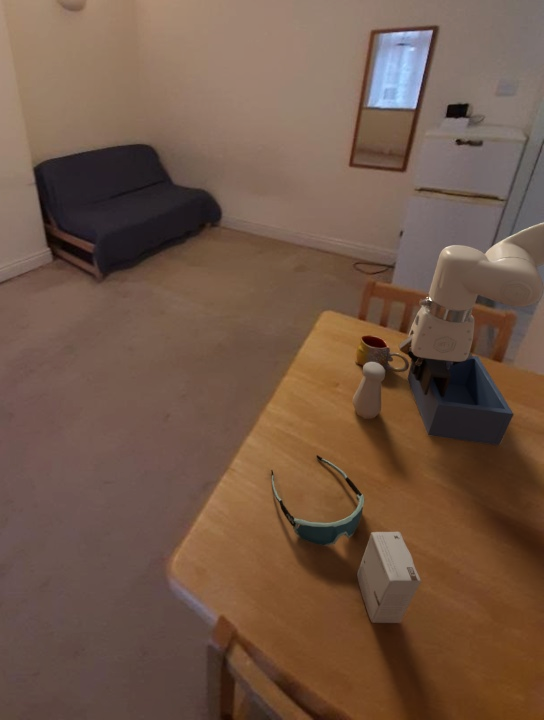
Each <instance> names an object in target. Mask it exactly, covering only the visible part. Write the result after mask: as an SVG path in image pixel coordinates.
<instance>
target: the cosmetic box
mask: <svg viewBox="0 0 544 720" xmlns="http://www.w3.org/2000/svg"><path fill="white" fill-rule="evenodd" d="M359 564H360V565H359V567H358V570H357V574H356V578H357V582H358V586H359V589H360V592H361V596H362V599H363V602H364V606H365V608H366V612H367V616H368V618H369V621H370V622H371V623H373V624H375V623H376V624H401V622H402V620H403V618H404V617H405V614H406V612H407V610H408V609H409V606H410V604H411V602H412V600H413V599H414V597H415V594H416V592H417V591H418V588H419V587H420V585H421V583H422V579H421V577H420V575H419V573H418V571H417V568H416V566H415V563H414V559H413V557H412V554H411V552H410V550H409V548H408V546H407V544H406V542H405V540H404V537H403V535H402V533H401V531H373V532H370V536H369V539H368V542H367V545H366V547H365V550H364V553H363V556H362V558H361V562H360V563H359Z"/></svg>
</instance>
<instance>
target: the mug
mask: <svg viewBox="0 0 544 720" xmlns="http://www.w3.org/2000/svg"><path fill="white" fill-rule="evenodd" d="M355 356H356V360H355V364H356V365H360V366H362V367H363V366H364V365H365V364H366V363H368V362H376V363H378V364H380V365H381V366H383V368H384V369H385V371H390V372H394V373H404V372H406V371H408V369H410V362H409V360H408V358H406V356H404V355H403V353H402V354H401V352H391V349H390V346H389V345H388V343H387V341H386V339H383V338H382V337H380V336H376V335H371V334H364V335H362V336H360V337H359V344H358V346H357V348H356V353H355ZM393 356H395V357H399V358H401V359H402V361H404V366H403V367H394V366H393V365H391V364H390V363H391V362H393V361H394V358H393ZM389 362H390V363H389Z"/></svg>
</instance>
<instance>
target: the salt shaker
mask: <svg viewBox="0 0 544 720" xmlns="http://www.w3.org/2000/svg"><path fill="white" fill-rule="evenodd" d="M362 374H363V376H362V379H361V381H360V382H359V384H358V386H357V388H356V391H355V393H354V394H353V396H352V405H353V407H354V411H355V413H356V415H358V416H360V417H361V418H362V419H365V420H366V419H367V420H368V419H374V418H375V417H377V416H378V415H379V413H380V412H381V411H382V382H383V381H384V379H385V378H386V370H385V369H384V368H383V366H381V365H380V364H378V363H376V362H368V363H366V364H365V365H364V366H362Z"/></svg>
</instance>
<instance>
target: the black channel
mask: <svg viewBox="0 0 544 720" xmlns="http://www.w3.org/2000/svg"><path fill="white" fill-rule="evenodd" d="M410 362H412V363H413V360H412V359H411V358H410ZM422 364H423V367H424V368H423V371H422V375H421V378H420V380H419V382H420V385H421V387H422V390H423V392H424V395H427V393H428V390H429V387H430V384H431V381H432V378H433V379H434V382H435V384H436V386H437V389H438V391H439V393H440V395H441V397H444V395H445V392H446V389H447V386H448V383H449V380H450V377H451V375H450V373H449V371H448V369H447V367H446V365H445V363H444V361H443V360H437V359H429V358H425V359H424V361H423V363H422Z"/></svg>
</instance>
